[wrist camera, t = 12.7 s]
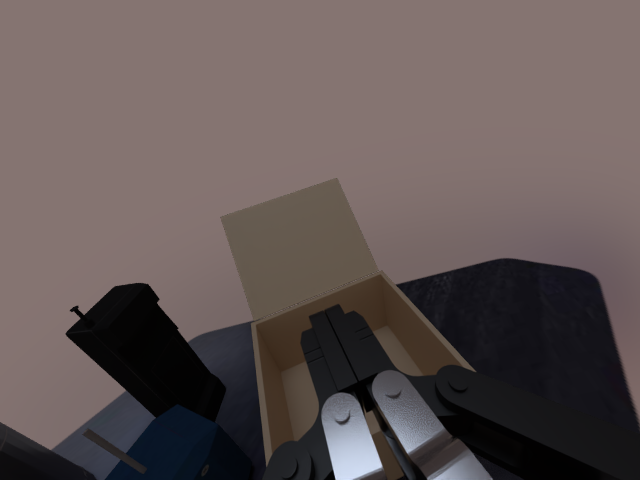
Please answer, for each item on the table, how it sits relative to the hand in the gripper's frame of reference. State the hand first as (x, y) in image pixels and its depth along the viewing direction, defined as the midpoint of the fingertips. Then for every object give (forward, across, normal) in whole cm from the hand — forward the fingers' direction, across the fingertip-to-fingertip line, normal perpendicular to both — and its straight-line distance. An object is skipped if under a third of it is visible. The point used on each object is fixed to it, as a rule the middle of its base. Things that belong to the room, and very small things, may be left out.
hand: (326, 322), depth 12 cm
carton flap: (+25, -2, +11) cm, 27 cm away
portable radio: (+19, +20, +29) cm, 40 cm away
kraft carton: (+10, -2, +28) cm, 30 cm away
